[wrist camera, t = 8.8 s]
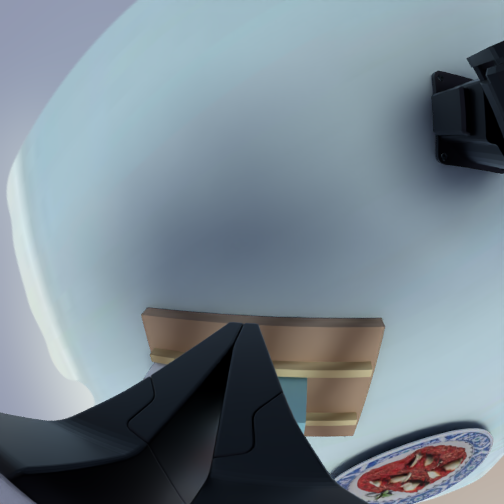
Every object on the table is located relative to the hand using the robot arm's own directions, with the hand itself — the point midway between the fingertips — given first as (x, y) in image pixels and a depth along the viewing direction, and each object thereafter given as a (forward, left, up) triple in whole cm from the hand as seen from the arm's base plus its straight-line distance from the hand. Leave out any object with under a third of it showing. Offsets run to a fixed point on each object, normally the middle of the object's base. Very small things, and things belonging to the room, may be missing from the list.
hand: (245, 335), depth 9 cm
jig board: (+1, +14, -12) cm, 18 cm away
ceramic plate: (-20, +35, -12) cm, 42 cm away
